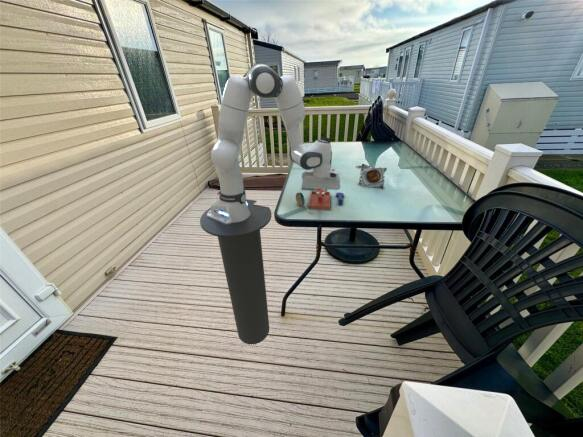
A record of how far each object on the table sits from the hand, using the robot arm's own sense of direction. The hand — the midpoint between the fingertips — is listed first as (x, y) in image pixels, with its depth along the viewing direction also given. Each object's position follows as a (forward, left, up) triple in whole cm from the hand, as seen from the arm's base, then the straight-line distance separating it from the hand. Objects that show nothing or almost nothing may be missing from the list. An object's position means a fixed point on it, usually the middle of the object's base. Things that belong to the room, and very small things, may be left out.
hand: (320, 195), depth 134 cm
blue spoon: (+10, +7, -5) cm, 13 cm away
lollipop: (-7, -9, -2) cm, 11 cm away
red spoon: (0, +1, -2) cm, 2 cm away
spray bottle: (-11, +43, -5) cm, 44 cm away
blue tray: (-13, +24, -5) cm, 28 cm away
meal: (+23, +34, -5) cm, 41 cm away
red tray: (-1, +2, -5) cm, 5 cm away
